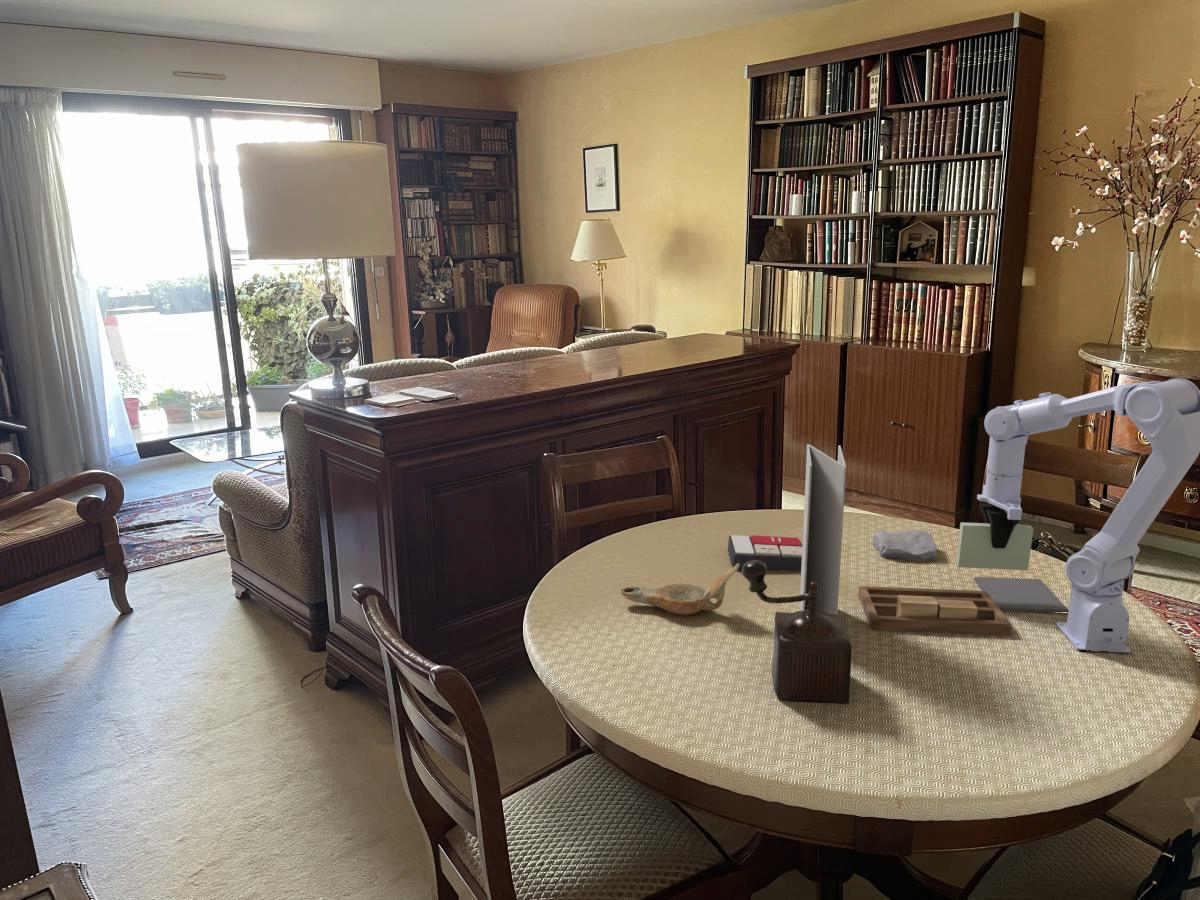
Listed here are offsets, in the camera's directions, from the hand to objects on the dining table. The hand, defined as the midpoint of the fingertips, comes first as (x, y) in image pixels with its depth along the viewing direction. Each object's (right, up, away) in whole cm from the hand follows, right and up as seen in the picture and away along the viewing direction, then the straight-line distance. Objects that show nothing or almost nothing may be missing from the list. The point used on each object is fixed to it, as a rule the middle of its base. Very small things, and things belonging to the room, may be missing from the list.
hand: (996, 545), depth 154 cm
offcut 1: (-17, -13, -7) cm, 22 cm away
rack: (-13, -12, -4) cm, 18 cm away
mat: (+6, -10, +4) cm, 12 cm away
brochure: (-34, -13, -6) cm, 37 cm away
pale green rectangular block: (0, -4, +1) cm, 4 cm away
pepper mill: (-43, -18, -25) cm, 53 cm away
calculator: (-37, -6, +22) cm, 44 cm away
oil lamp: (-57, -12, 0) cm, 59 cm away
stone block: (-8, -5, +25) cm, 27 cm away
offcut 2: (-11, -13, -7) cm, 18 cm away
